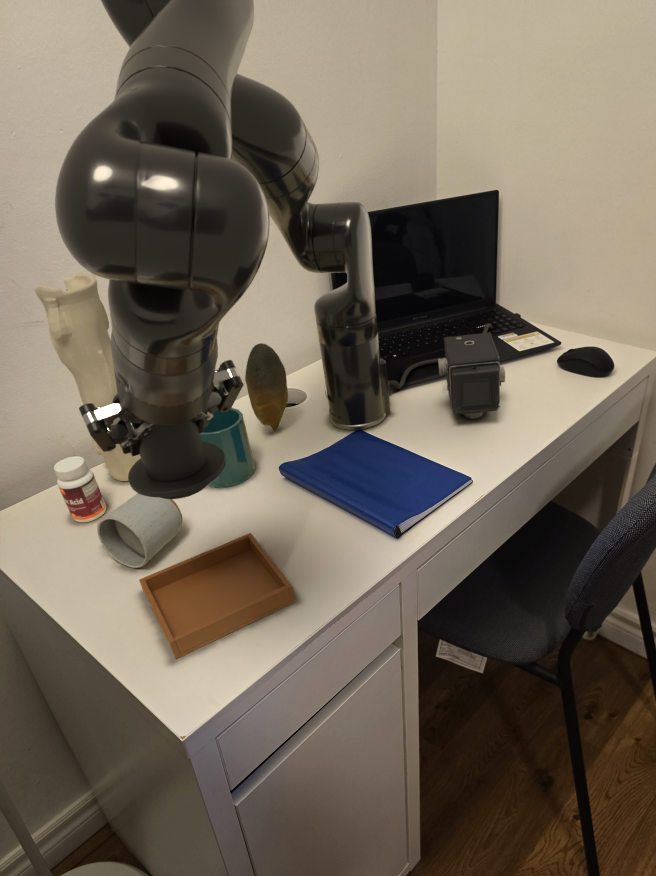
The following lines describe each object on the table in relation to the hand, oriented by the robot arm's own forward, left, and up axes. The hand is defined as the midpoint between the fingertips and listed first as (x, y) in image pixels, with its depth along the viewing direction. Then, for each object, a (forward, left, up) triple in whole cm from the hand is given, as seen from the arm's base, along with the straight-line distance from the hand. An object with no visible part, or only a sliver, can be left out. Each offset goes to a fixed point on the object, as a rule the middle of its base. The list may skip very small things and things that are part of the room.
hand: (164, 435), depth 65 cm
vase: (+1, -35, -21) cm, 41 cm away
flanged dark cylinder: (0, +2, -5) cm, 5 cm away
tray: (0, +2, -21) cm, 21 cm away
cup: (-11, -24, -21) cm, 34 cm away
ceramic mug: (+5, -14, -21) cm, 26 cm away
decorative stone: (-22, -31, -21) cm, 43 cm away
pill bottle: (+9, -27, -21) cm, 35 cm away
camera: (-51, -16, -21) cm, 57 cm away
